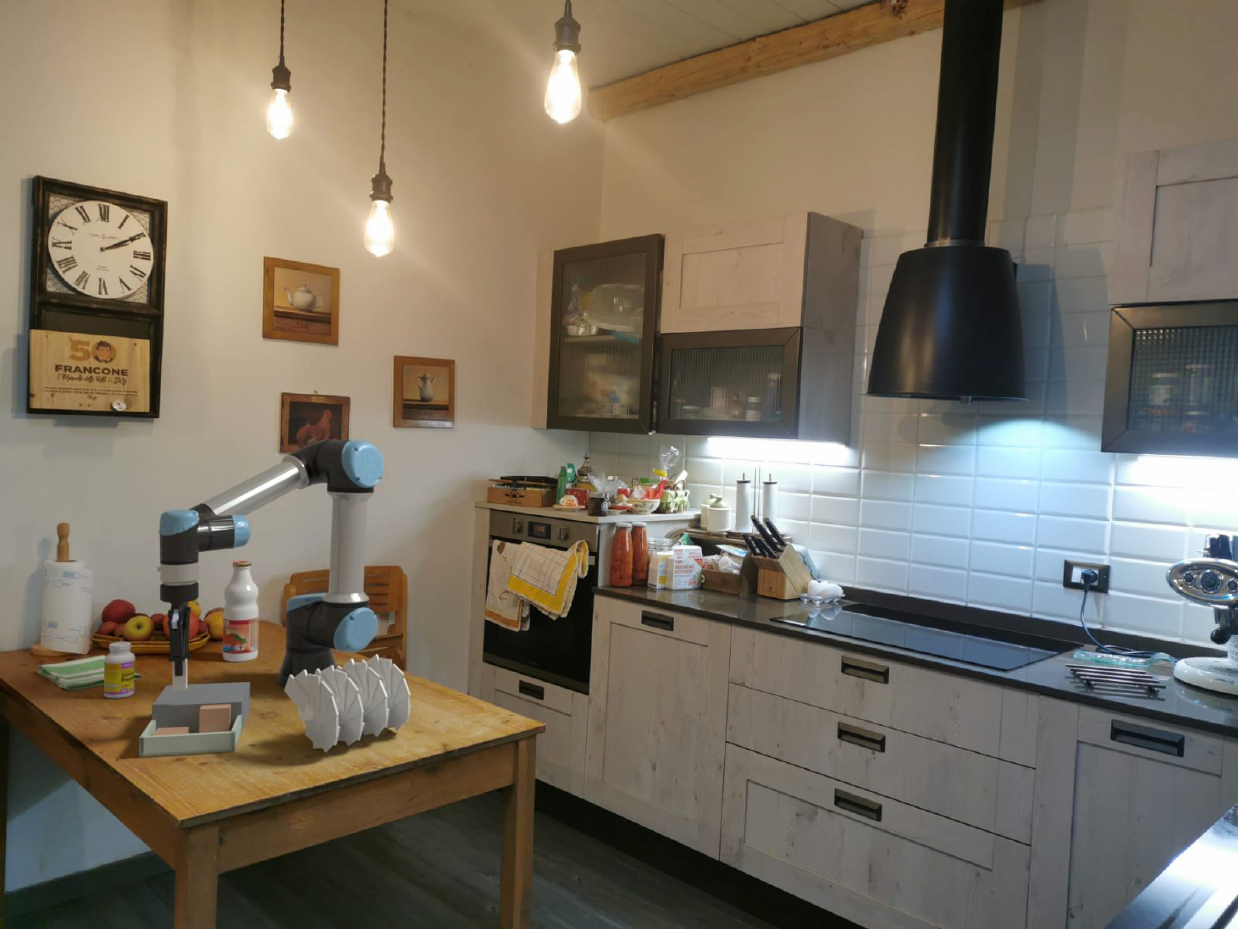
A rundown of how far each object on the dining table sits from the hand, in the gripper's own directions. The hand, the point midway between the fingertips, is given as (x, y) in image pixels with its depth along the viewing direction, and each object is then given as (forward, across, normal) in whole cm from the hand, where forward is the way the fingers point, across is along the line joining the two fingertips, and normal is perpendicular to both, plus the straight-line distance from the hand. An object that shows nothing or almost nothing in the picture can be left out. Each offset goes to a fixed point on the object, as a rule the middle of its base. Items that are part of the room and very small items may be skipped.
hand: (179, 689), depth 196 cm
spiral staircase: (+11, +9, +36) cm, 39 cm away
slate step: (+11, -7, +4) cm, 13 cm away
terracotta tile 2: (+7, +6, -1) cm, 10 cm away
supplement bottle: (+11, -33, -19) cm, 40 cm away
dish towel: (+11, -53, -31) cm, 62 cm away
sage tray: (+10, +6, +3) cm, 12 cm away
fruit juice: (+12, -65, +5) cm, 66 cm away
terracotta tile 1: (+7, 0, +7) cm, 10 cm away
